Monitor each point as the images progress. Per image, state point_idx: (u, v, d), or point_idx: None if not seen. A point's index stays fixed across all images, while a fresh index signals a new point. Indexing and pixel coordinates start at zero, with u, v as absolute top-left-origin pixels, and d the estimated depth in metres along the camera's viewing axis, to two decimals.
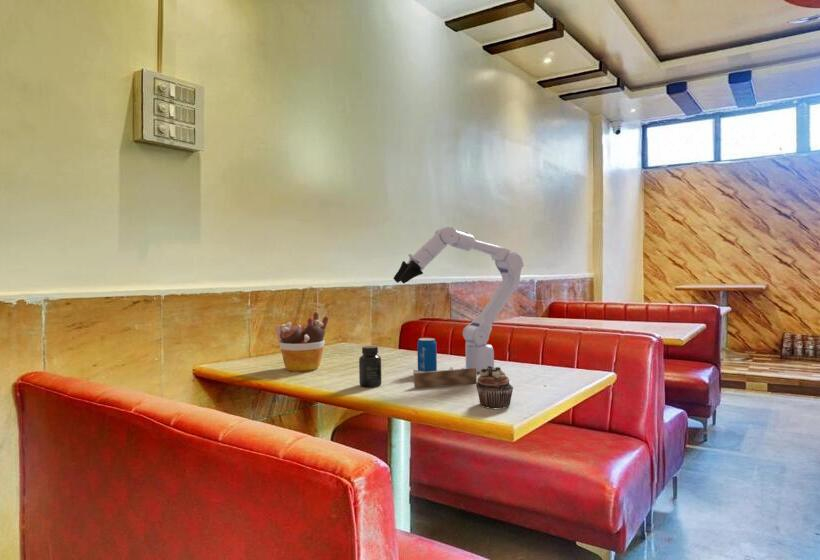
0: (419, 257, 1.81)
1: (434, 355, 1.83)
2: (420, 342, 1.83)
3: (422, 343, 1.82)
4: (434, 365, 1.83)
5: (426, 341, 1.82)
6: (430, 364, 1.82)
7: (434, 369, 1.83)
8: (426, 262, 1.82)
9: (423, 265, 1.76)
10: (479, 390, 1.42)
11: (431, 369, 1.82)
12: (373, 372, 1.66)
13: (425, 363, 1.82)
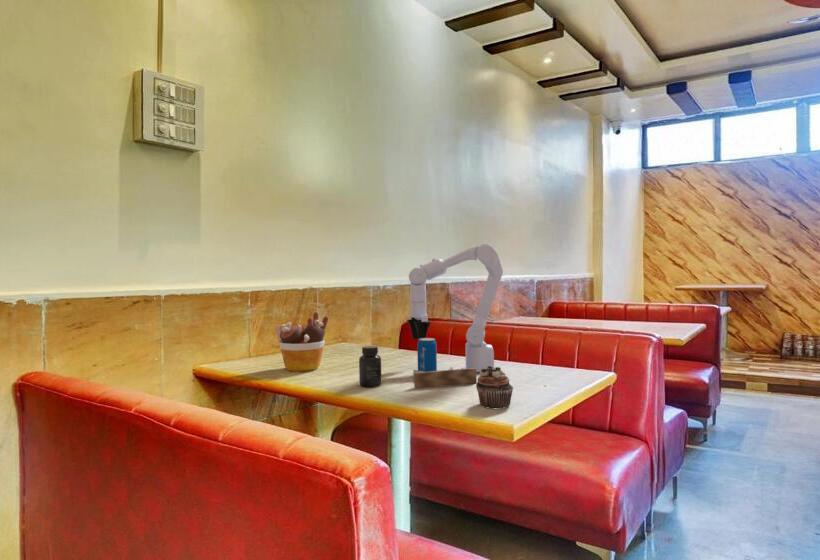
0: (416, 312, 1.90)
1: (434, 355, 1.83)
2: (420, 342, 1.83)
3: (422, 343, 1.82)
4: (434, 365, 1.83)
5: (426, 341, 1.82)
6: (430, 364, 1.82)
7: (434, 369, 1.83)
8: (424, 309, 1.91)
9: (426, 318, 1.87)
10: (479, 390, 1.42)
11: (431, 369, 1.82)
12: (373, 372, 1.66)
13: (425, 363, 1.82)
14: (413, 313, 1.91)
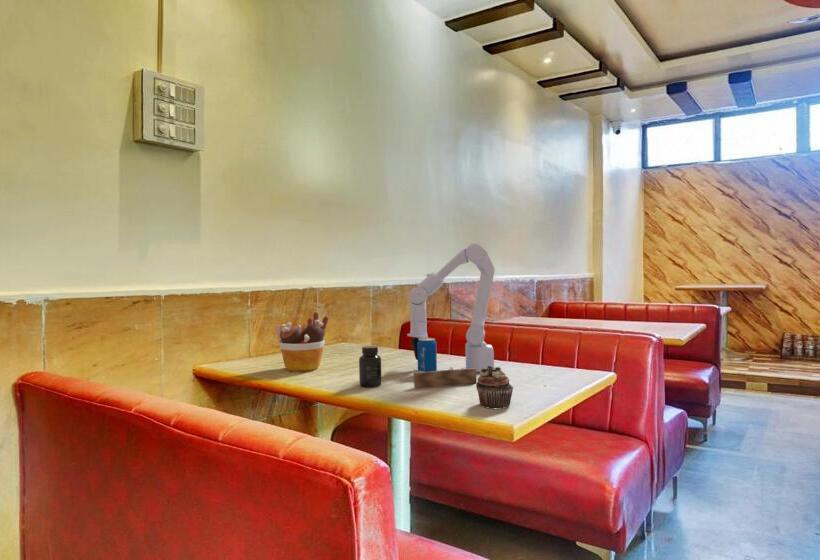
0: (417, 331, 1.91)
1: (434, 355, 1.83)
2: (420, 342, 1.83)
3: (422, 343, 1.82)
4: (434, 365, 1.83)
5: (426, 341, 1.82)
6: (430, 364, 1.82)
7: (434, 369, 1.83)
8: (424, 329, 1.92)
9: (426, 338, 1.87)
10: (479, 390, 1.42)
11: (431, 369, 1.82)
12: (373, 372, 1.66)
13: (425, 363, 1.82)
14: (413, 332, 1.91)
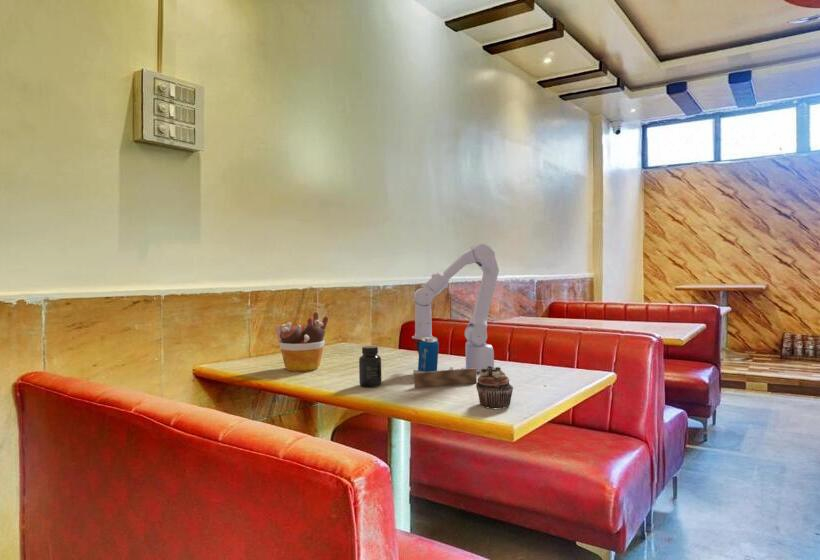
0: (421, 334, 1.86)
1: (435, 356, 1.82)
2: (422, 343, 1.80)
3: (424, 345, 1.80)
4: (435, 365, 1.82)
5: (428, 343, 1.80)
6: (430, 365, 1.81)
7: (434, 369, 1.83)
8: (429, 331, 1.86)
9: None
10: (479, 390, 1.42)
11: (431, 369, 1.82)
12: (373, 372, 1.66)
13: (426, 364, 1.81)
14: (418, 335, 1.86)
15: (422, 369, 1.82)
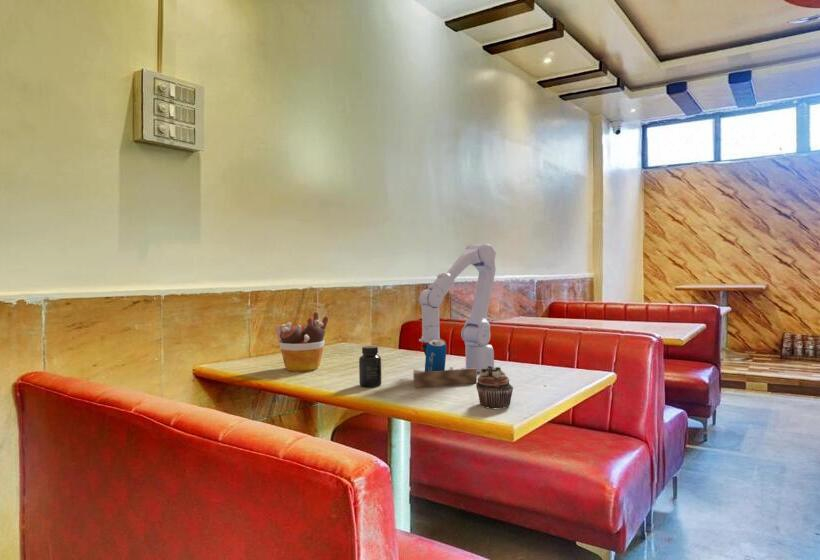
0: (429, 337, 1.78)
1: (443, 360, 1.74)
2: (429, 346, 1.73)
3: (431, 348, 1.72)
4: (442, 369, 1.75)
5: (436, 346, 1.72)
6: (438, 369, 1.74)
7: None
8: (437, 334, 1.79)
9: None
10: (479, 390, 1.42)
11: None
12: (373, 372, 1.66)
13: (433, 368, 1.74)
14: (425, 338, 1.78)
15: None
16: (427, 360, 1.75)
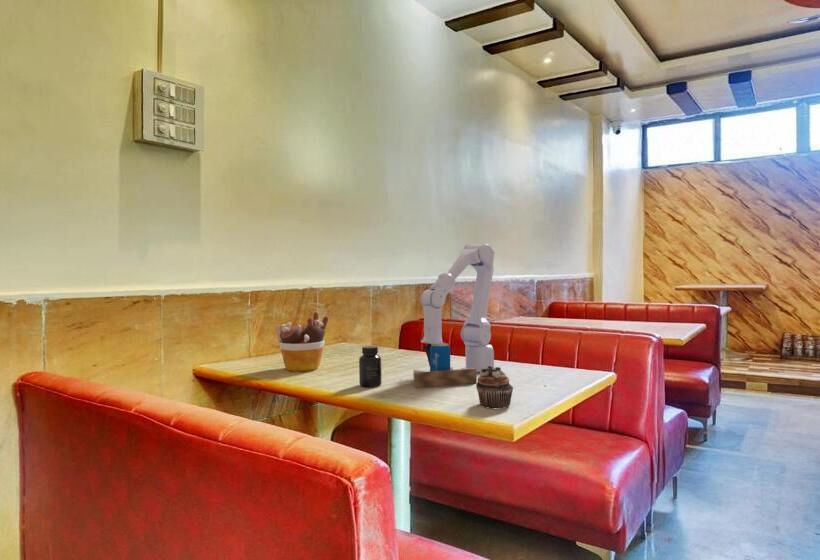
0: (431, 337, 1.76)
1: (448, 361, 1.71)
2: (433, 347, 1.71)
3: (435, 349, 1.70)
4: None
5: (439, 346, 1.70)
6: None
7: None
8: (439, 335, 1.77)
9: None
10: (479, 390, 1.42)
11: None
12: (373, 372, 1.66)
13: (438, 370, 1.70)
14: (427, 339, 1.77)
15: None
16: (431, 363, 1.71)
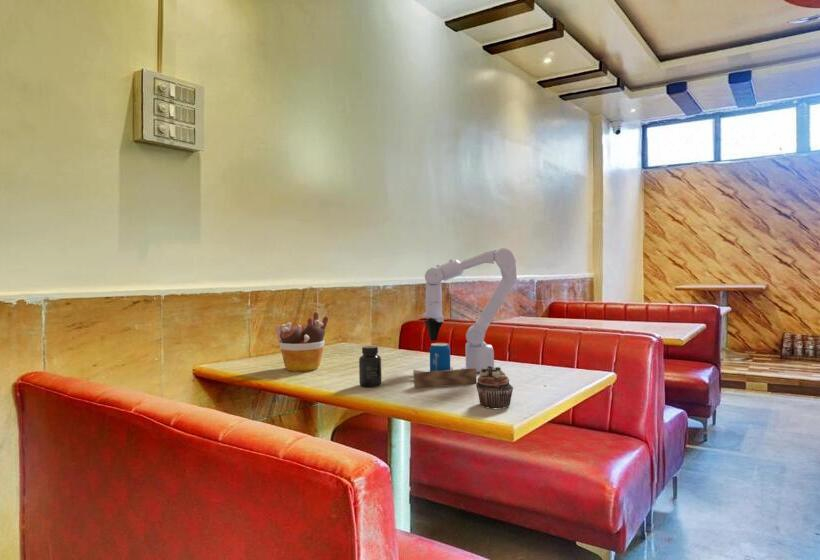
0: (432, 312, 1.89)
1: (448, 361, 1.71)
2: (433, 347, 1.71)
3: (435, 349, 1.70)
4: None
5: (439, 346, 1.70)
6: None
7: None
8: (440, 310, 1.90)
9: (442, 319, 1.86)
10: (479, 390, 1.42)
11: None
12: (373, 372, 1.66)
13: (438, 370, 1.70)
14: (428, 313, 1.90)
15: None
16: (431, 363, 1.71)
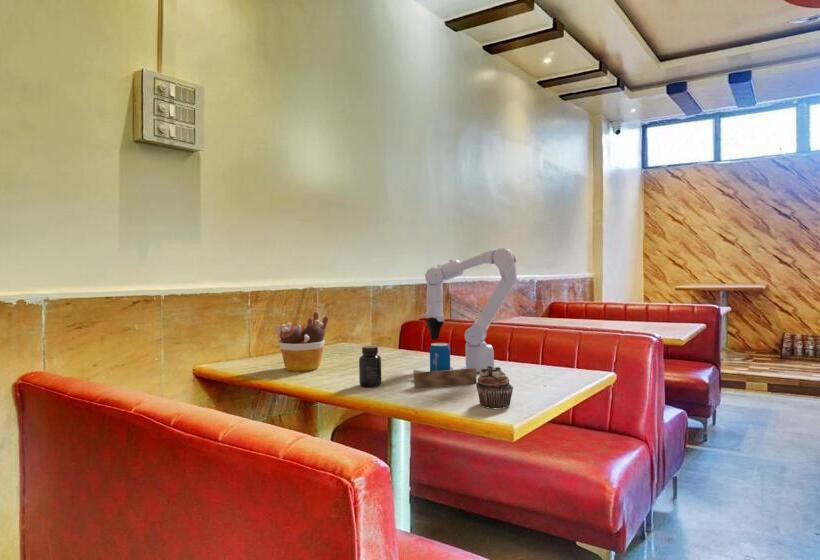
0: (433, 311, 1.91)
1: (448, 361, 1.71)
2: (433, 347, 1.71)
3: (435, 349, 1.70)
4: None
5: (439, 346, 1.70)
6: None
7: None
8: (441, 309, 1.92)
9: (443, 318, 1.87)
10: (479, 390, 1.42)
11: None
12: (373, 372, 1.66)
13: (438, 370, 1.70)
14: (429, 312, 1.92)
15: None
16: (431, 363, 1.71)
